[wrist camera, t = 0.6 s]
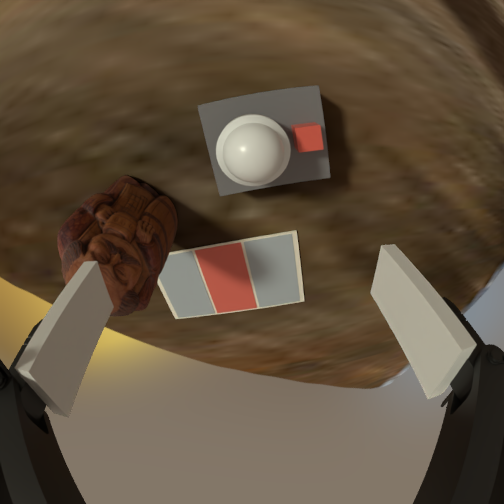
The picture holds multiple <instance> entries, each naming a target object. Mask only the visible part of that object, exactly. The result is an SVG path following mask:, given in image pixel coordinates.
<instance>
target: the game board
mask: <svg viewBox="0 0 504 504" xmlns="http://www.w3.org/2000/svg"><path fill="white" fill-rule="evenodd" d="M157 283H158V285H159V287H160V289H161V291H162V293H163V295H164V297H165V299H166V301H167V303H168V305H169V307H170V309H171V311H172V313H173V315H174V317H175V319H180V318H190V317H198V316H207V315H215V314H223V313H231V312H238V311H245V310H252V309H259V308H266V307H272V306H279V305H285V304H291V303H297V302H303V301H304V292H303V282H302V272H301V263H300V254H299V246H298V238H297V230H294V231H288V232H282V233H276V234H271V235H265V236H259V237H253V238H247V239H242V240H236V241H230V242H225V243H219V244H213V245H208V246H202V247H197V248H191V249H186V250H180V251H175V252H170V253H169V255H168V258H167V261H166V262H165V265H164V268H163V270H162V272H161V273H160V275H159V278H158V282H157Z"/></svg>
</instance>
